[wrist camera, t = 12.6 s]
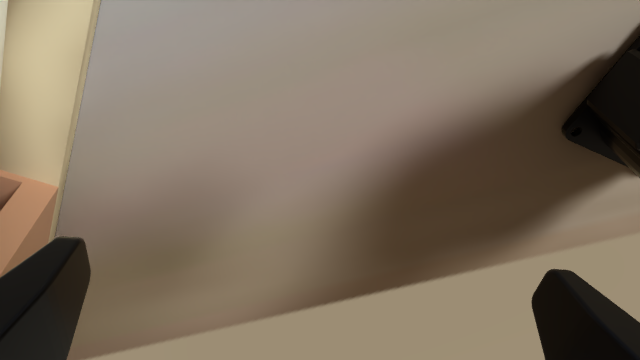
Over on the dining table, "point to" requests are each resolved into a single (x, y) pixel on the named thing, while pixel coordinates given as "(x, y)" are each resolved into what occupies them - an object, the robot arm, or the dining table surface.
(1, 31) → the beige cradle bracket
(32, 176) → the base rail
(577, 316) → the robot arm
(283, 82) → the dining table surface
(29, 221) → the socket
